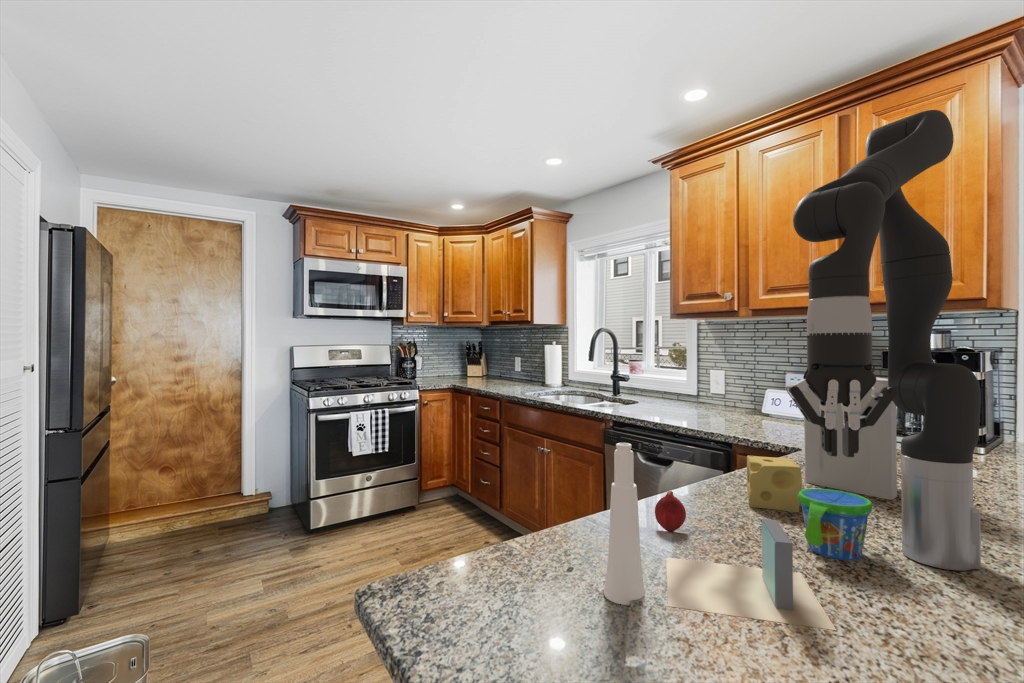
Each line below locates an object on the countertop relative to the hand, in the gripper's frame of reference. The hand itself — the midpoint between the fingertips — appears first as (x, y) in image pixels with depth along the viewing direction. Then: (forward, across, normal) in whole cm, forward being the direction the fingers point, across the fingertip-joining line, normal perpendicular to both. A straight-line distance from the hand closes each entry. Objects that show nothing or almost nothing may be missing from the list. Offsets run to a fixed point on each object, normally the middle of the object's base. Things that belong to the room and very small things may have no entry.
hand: (839, 455), depth 68 cm
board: (+21, +13, 0) cm, 25 cm away
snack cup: (+21, -5, -19) cm, 29 cm away
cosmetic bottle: (+21, +29, +5) cm, 36 cm away
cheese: (+21, -1, -47) cm, 52 cm away
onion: (+21, +22, -22) cm, 38 cm away
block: (+20, +8, 0) cm, 22 cm away
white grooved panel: (+21, -25, -69) cm, 76 cm away
